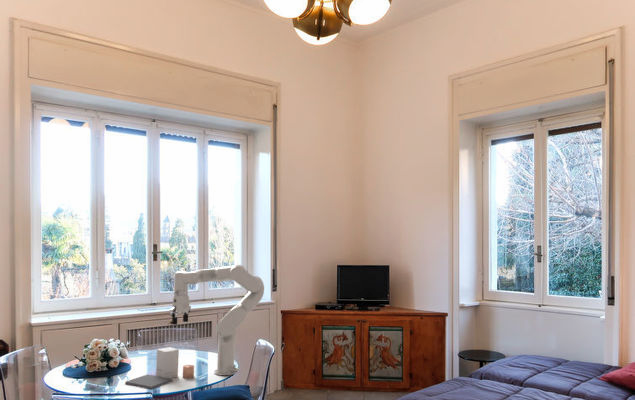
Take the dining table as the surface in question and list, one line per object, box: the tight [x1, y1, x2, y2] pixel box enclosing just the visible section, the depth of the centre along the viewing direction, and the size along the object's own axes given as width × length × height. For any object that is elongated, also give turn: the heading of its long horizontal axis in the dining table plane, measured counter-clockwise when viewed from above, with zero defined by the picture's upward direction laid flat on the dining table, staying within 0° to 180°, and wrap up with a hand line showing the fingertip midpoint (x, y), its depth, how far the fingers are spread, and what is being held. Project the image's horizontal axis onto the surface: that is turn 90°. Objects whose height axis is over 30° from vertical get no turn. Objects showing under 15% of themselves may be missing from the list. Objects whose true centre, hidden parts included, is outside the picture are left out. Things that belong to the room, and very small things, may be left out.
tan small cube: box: [182, 364, 195, 380], centre depth 291 cm, size 6×6×6 cm
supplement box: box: [155, 346, 180, 379], centre depth 292 cm, size 9×9×15 cm
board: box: [125, 373, 173, 390], centre depth 279 cm, size 18×16×1 cm
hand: (180, 322), depth 302 cm, fingers open, 8 cm apart
